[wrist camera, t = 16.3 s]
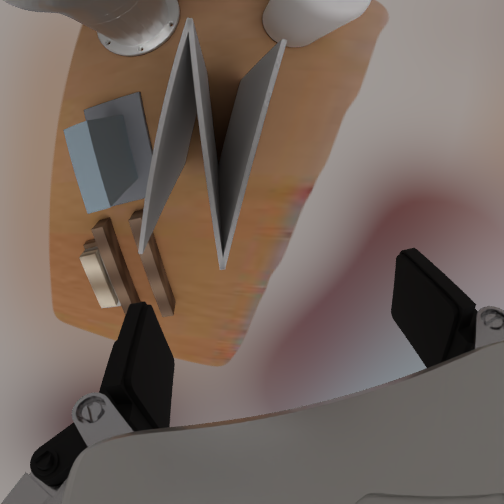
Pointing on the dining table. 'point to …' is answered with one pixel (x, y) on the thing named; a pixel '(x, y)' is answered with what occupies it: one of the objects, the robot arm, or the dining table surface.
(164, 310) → the rack
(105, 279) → the offcut stack
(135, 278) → the dining table surface
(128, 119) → the slate mat
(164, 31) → the robot arm
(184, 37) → the grey tall flat block
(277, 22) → the alcohol
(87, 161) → the blue grey brick
